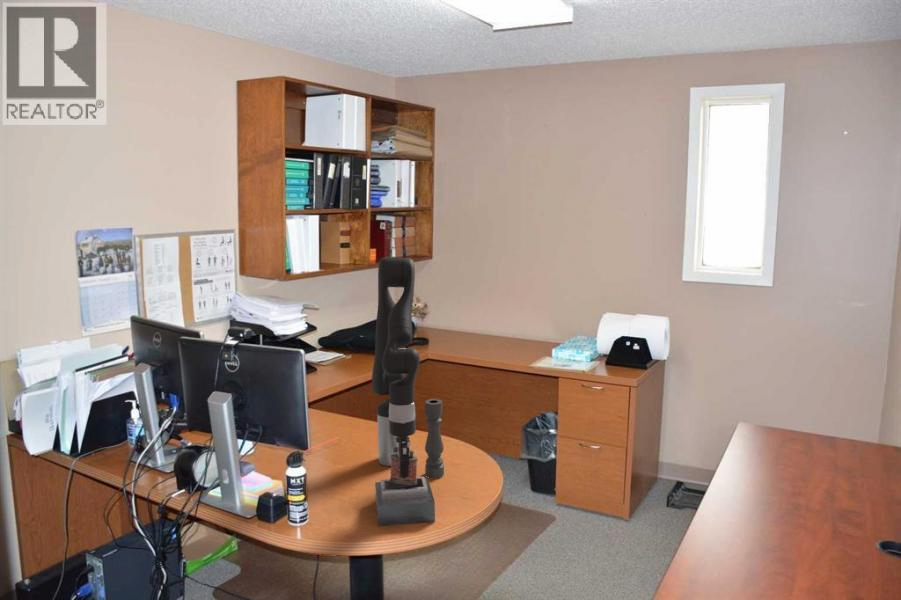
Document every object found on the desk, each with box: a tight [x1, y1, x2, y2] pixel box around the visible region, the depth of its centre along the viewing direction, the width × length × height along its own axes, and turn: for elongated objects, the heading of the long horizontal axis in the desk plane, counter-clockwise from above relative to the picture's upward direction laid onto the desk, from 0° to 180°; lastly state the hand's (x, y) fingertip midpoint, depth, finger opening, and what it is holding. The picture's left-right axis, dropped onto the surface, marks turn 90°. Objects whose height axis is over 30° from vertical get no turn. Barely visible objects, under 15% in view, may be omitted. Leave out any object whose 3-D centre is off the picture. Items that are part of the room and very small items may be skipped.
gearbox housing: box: [374, 476, 436, 527], centre depth 206 cm, size 16×16×8 cm
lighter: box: [389, 447, 418, 485], centre depth 205 cm, size 8×3×10 cm, turn 74°
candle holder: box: [424, 398, 445, 479], centre depth 230 cm, size 6×6×25 cm
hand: (403, 473), depth 205 cm, fingers open, 4 cm apart
